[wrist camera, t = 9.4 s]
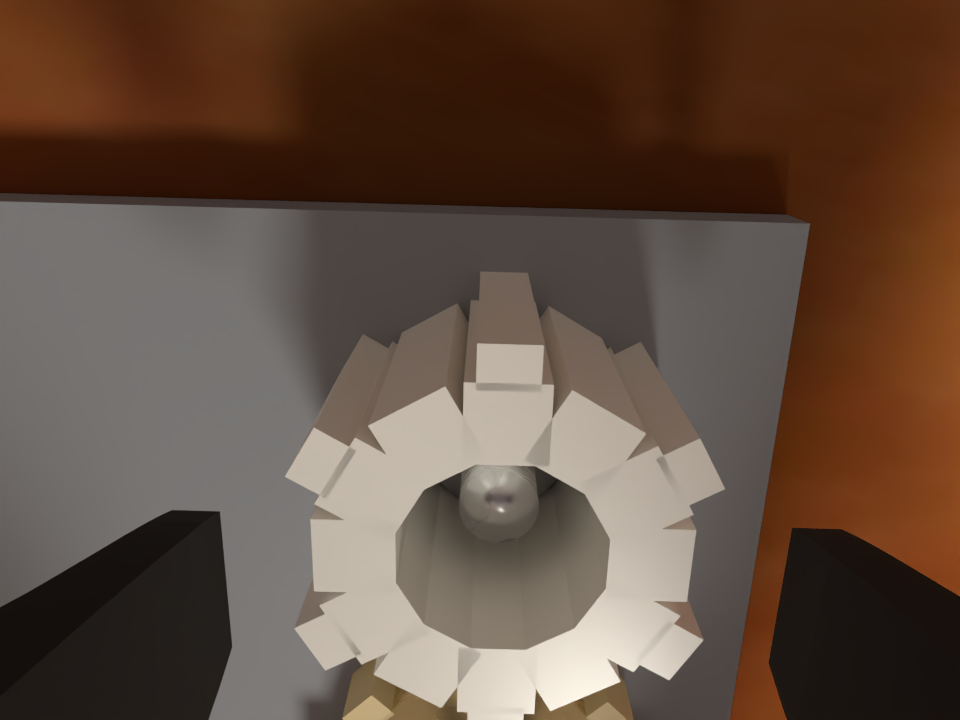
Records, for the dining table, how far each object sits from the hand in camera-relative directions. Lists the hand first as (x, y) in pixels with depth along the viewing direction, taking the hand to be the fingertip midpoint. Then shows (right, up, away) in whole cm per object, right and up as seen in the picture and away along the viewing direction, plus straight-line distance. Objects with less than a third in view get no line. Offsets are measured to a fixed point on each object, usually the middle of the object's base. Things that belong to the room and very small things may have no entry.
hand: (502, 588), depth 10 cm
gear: (0, +1, +4) cm, 5 cm away
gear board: (-3, -1, +6) cm, 7 cm away
